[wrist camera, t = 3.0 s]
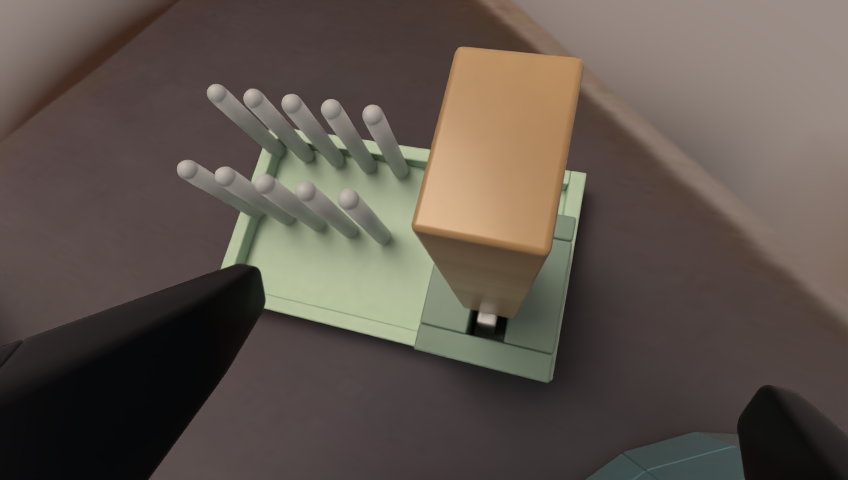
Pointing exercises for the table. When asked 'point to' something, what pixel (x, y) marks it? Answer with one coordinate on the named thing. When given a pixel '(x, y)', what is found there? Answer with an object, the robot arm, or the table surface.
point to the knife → (497, 175)
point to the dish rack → (370, 238)
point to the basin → (679, 460)
